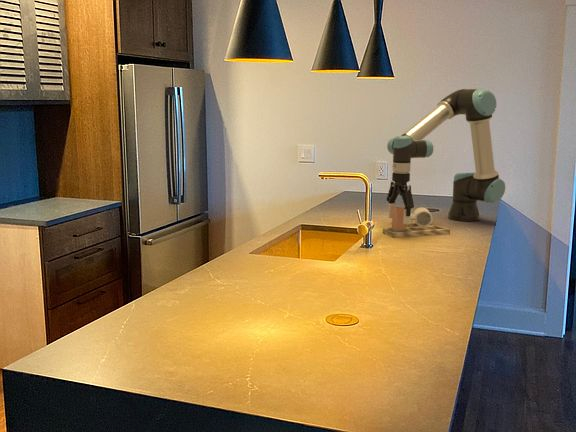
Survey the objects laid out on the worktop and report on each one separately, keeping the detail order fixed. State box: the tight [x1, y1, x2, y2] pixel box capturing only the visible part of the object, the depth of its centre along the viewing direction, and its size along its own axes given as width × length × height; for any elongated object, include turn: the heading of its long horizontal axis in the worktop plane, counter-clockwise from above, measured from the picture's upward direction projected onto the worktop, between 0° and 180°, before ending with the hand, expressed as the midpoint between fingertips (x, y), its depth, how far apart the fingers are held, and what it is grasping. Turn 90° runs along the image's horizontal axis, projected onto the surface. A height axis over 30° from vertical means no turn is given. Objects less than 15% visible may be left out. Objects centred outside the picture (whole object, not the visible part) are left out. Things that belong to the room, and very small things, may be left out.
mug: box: [410, 206, 433, 226], centre depth 307 cm, size 12×10×8 cm
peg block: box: [391, 206, 407, 231], centre depth 286 cm, size 4×4×12 cm
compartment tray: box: [382, 224, 451, 239], centre depth 290 cm, size 28×10×2 cm, turn 109°
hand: (399, 220), depth 286 cm, fingers open, 13 cm apart
